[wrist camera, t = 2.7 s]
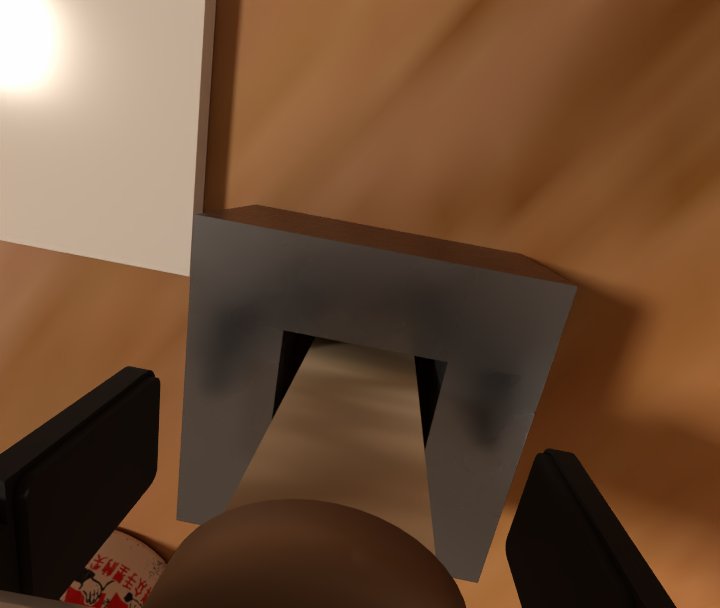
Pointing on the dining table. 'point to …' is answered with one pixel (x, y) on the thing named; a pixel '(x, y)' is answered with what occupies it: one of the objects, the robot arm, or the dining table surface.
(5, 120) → the tile
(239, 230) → the eye block
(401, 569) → the peg
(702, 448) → the dining table surface
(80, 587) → the teacup with lid
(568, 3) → the dining table surface
